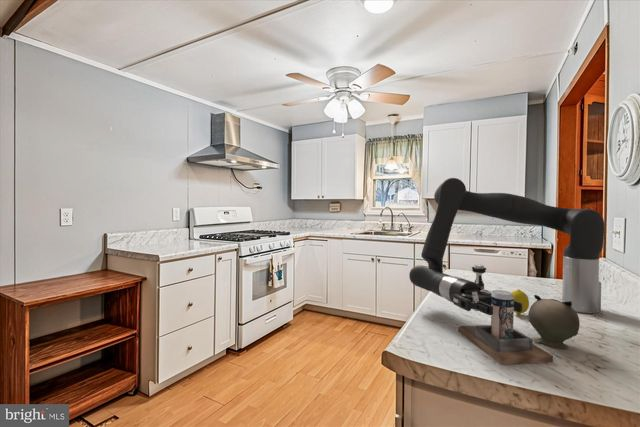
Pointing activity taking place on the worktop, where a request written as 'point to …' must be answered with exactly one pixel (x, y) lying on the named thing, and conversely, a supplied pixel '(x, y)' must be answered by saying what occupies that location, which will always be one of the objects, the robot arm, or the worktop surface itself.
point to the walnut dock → (506, 346)
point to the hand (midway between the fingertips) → (506, 309)
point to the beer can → (502, 314)
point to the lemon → (521, 300)
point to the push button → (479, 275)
